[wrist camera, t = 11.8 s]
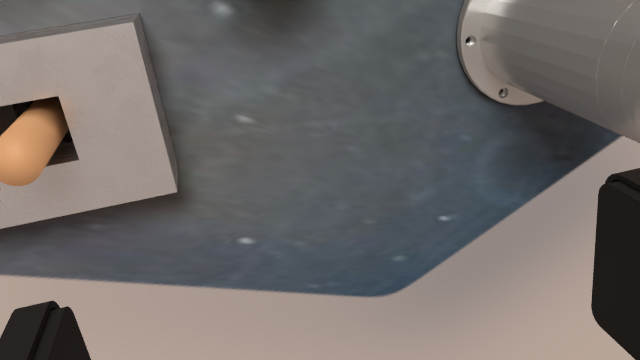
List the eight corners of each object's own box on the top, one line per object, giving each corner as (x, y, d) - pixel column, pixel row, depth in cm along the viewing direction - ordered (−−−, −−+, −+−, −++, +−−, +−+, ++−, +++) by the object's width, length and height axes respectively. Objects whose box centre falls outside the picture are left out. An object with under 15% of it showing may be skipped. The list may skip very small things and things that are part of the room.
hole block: (139, 13, 41) (133, 22, 37) (178, 167, 46) (177, 192, 42) (-102, 52, 39) (-139, 67, 35) (-34, 210, 44) (-60, 241, 39)
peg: (66, 91, 42) (32, 132, 33) (78, 130, 43) (49, 180, 34) (23, 99, 42) (-23, 143, 33) (37, 138, 43) (-3, 190, 34)
